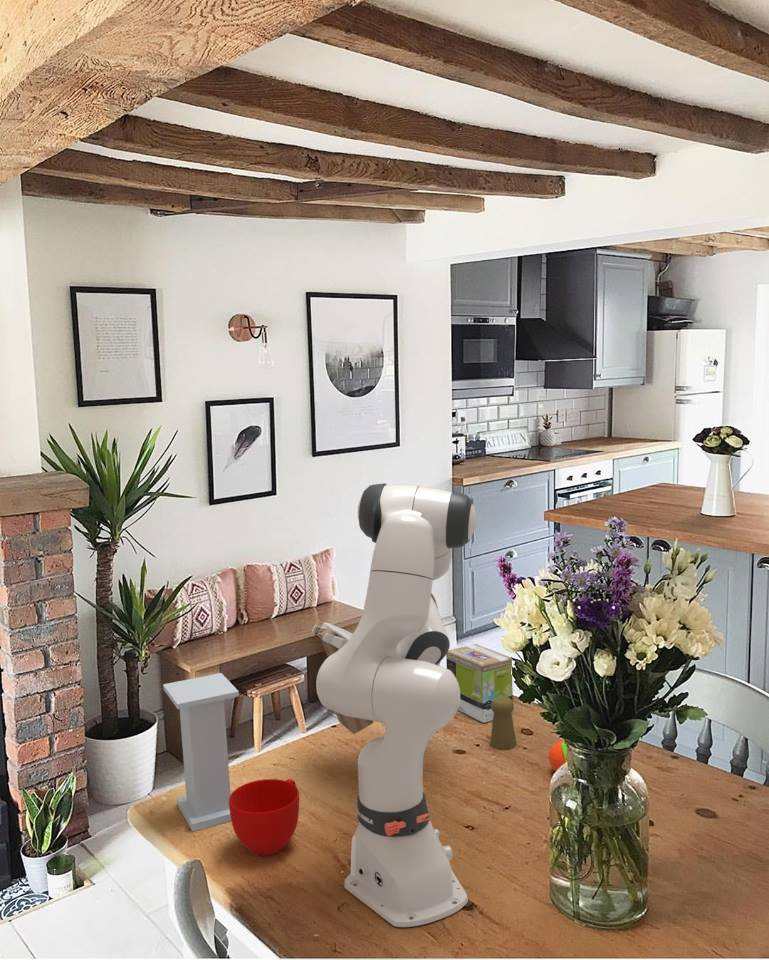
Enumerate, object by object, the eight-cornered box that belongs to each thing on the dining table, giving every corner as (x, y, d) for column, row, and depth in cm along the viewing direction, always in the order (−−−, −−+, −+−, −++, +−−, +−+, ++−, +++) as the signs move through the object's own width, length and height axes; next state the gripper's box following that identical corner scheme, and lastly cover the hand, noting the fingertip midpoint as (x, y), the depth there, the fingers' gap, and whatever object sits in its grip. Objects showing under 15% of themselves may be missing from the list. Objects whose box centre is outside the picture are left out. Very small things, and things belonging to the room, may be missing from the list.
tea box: (514, 714, 222) (513, 657, 220) (482, 724, 216) (481, 666, 214) (477, 696, 234) (475, 641, 232) (446, 705, 229) (444, 649, 227)
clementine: (583, 784, 185) (582, 751, 184) (549, 782, 186) (548, 750, 185) (581, 766, 193) (581, 735, 192) (548, 765, 194) (548, 733, 193)
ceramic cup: (324, 824, 173) (321, 776, 172) (278, 871, 158) (275, 818, 157) (267, 812, 179) (264, 765, 177) (217, 857, 163) (214, 805, 162)
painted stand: (247, 816, 177) (238, 691, 174) (187, 832, 172) (177, 704, 169) (229, 791, 188) (221, 672, 184) (172, 806, 183) (163, 684, 179)
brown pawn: (487, 748, 203) (486, 702, 202) (492, 737, 209) (491, 692, 207) (514, 751, 201) (513, 704, 200) (518, 739, 207) (517, 694, 206)
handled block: (340, 635, 185) (319, 647, 183) (373, 722, 190) (353, 734, 189) (325, 625, 192) (305, 636, 190) (358, 709, 198) (338, 721, 196)
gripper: (358, 628, 203) (307, 607, 196) (399, 653, 184) (344, 631, 178) (346, 653, 202) (295, 633, 196) (386, 681, 184) (331, 660, 178)
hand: (318, 632), depth 187 cm, fingers closed on handled block, 4 cm apart
